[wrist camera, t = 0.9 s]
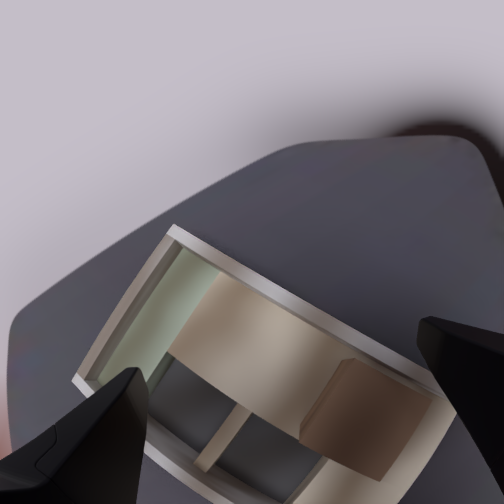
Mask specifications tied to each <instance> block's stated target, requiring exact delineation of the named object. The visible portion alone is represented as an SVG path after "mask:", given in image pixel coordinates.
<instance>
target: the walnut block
mask: <svg viewBox="0 0 504 504" xmlns="http://www.w3.org/2000/svg"><path fill="white" fill-rule="evenodd" d="M431 402H432V399H430V398H428V397H426V396H424V395H422V394H420V393H418V392H416V391H415V390H413V389H411V388H409V387H407V386H405V385H403V384H401V383H400V382H398V381H396V380H394V379H392V378H390V377H389V376H387V375H385V374H383V373H381V372H379V371H378V370H376V369H374V368H372V367H370V366H368V365H367V364H365V363H363V362H361V361H360V360H358V359H356V358H351V359H345V360H342V361H341V362H340V364H339V366H338V367H337V369H336V371H335V372H334V374H333V376H332V377H331V379H330V380H329V382H328V383H327V385H326V387H325V388H324V390H323V391H322V393H321V394H320V396H319V397H318V399H317V400H316V402H315V403H314V405H313V406H312V408H311V409H310V411H309V412H308V414H307V415H306V416H305V418H304V419H303V421H302V422H301V424H300V430H299V443H301V444H302V445H304V446H306V447H308V448H310V449H312V450H313V451H315V452H317V453H319V454H321V455H323V456H325V457H327V458H329V459H331V460H333V461H335V462H337V463H339V464H341V465H343V466H345V467H347V468H349V469H351V470H353V471H356V472H358V473H360V474H362V475H364V476H367V477H369V478H371V479H373V480H376V481H378V482H380V481H381V480H382V479H383V477H384V476H385V475H386V473H387V472H388V470H389V469H390V468H391V466H392V465H393V463H394V462H395V461H396V459H397V458H398V456H399V455H400V453H401V452H402V450H403V449H404V447H405V446H406V444H407V443H408V441H409V440H410V438H411V436H412V435H413V433H414V432H415V430H416V428H417V427H418V425H419V423H420V422H421V420H422V418H423V417H424V415H425V413H426V411H427V410H428V408H429V406H430V404H431Z"/></svg>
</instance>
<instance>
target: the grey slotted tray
mask: <svg viewBox="0 0 504 504" xmlns="http://www.w3.org/2000/svg"><path fill="white" fill-rule="evenodd" d="M351 358H356V359H358V360H360V361H361V362H363V363H365V364H367V365H368V366H370V367H372V368H374V369H376V370H378V371H379V372H381V373H383V374H385V375H387V376H389V377H390V378H392V379H394V380H396V381H398V382H400V383H401V384H403V385H405V386H407V387H409V388H411V389H413V390H415V391H416V392H418V393H420V394H422V395H424V396H426V397H428V398H430V399H432V402H431V404H430V406H429V408H428V410H427V411H426V413H425V415H424V417H423V418H422V420H421V422H420V423H419V425H418V427H417V428H416V430H415V432H414V433H413V435H412V436H411V438H410V440H409V441H408V443H407V444H406V446H405V447H404V449H403V450H402V452H401V453H400V455H399V456H398V458H397V459H396V461H395V462H394V463H393V465H392V466H391V468H390V469H389V470H388V472H387V473H386V475H385V476H384V477H383V479H382V480H381V481H380V482H378V481H376V480H373V479H371V478H369V477H367V476H364V475H362V474H360V473H358V472H356V471H353V470H351V469H349V468H347V467H345V466H343V465H341V464H339V463H337V462H335V461H333V460H331V459H329V458H327V457H325V456H323V455H321V454H319V453H317V452H315V451H313V450H312V449H310V448H308V447H306V446H304V445H302V444H301V443H299V430H300V424H301V422H302V421H303V419H304V418H305V416H306V415H307V414H308V412H309V411H310V409H311V408H312V406H313V405H314V403H315V402H316V400H317V399H318V397H319V396H320V394H321V393H322V391H323V390H324V388H325V387H326V385H327V383H328V382H329V380H330V379H331V377H332V376H333V374H334V372H335V371H336V369H337V367H338V366H339V364H340V362H341V361H342V360H345V359H351ZM127 367H139V368H140V369H141V371H142V373H143V376H144V379H145V381H146V384H147V387H148V391H149V398H148V415H147V433H146V440H145V446H144V453H145V454H147V455H148V456H149V457H150V458H151V459H153V460H154V461H155V462H156V463H158V464H159V465H160V466H161V467H163V468H164V469H165V470H166V471H168V472H169V473H170V474H172V475H173V476H174V477H176V478H177V479H178V480H180V481H181V482H183V483H184V484H185V485H187V486H188V487H190V488H191V489H192V490H194V491H195V492H197V493H198V494H200V495H201V496H203V497H204V498H206V499H207V500H209V501H211V502H212V503H214V504H397V503H398V502H399V501H400V500H401V498H402V497H403V496H404V494H405V493H406V492H407V491H408V489H409V488H410V487H411V485H412V484H413V482H414V481H415V480H416V478H417V477H418V476H419V474H420V473H421V471H422V470H423V468H424V467H425V465H426V464H427V462H428V461H429V459H430V458H431V456H432V455H433V453H434V452H435V450H436V448H437V447H438V445H439V444H440V442H441V440H442V439H443V437H444V435H445V433H446V432H447V430H448V428H449V426H450V425H451V423H452V421H453V419H454V417H455V416H456V414H457V412H456V411H455V409H454V408H453V406H452V405H451V403H450V401H449V400H448V398H447V397H446V395H445V394H444V392H443V391H442V389H441V388H440V386H439V385H438V383H437V381H436V380H435V378H434V376H433V374H432V373H431V372H430V371H428V370H427V369H425V368H423V367H421V366H419V365H417V364H416V363H414V362H412V361H410V360H408V359H407V358H405V357H403V356H401V355H399V354H398V353H396V352H394V351H392V350H390V349H389V348H387V347H385V346H383V345H382V344H380V343H378V342H376V341H374V340H373V339H371V338H369V337H367V336H365V335H364V334H362V333H360V332H358V331H357V330H355V329H353V328H351V327H350V326H348V325H346V324H344V323H343V322H341V321H339V320H337V319H335V318H334V317H332V316H330V315H328V314H327V313H325V312H323V311H321V310H320V309H318V308H316V307H315V306H313V305H311V304H309V303H308V302H306V301H304V300H302V299H301V298H299V297H297V296H295V295H294V294H292V293H290V292H288V291H287V290H285V289H283V288H282V287H280V286H278V285H276V284H275V283H273V282H271V281H270V280H268V279H266V278H264V277H263V276H261V275H259V274H258V273H256V272H254V271H252V270H251V269H249V268H247V267H246V266H244V265H242V264H240V263H239V262H237V261H235V260H234V259H232V258H230V257H229V256H227V255H225V254H223V253H222V252H220V251H218V250H217V249H215V248H213V247H212V246H210V245H208V244H207V243H205V242H203V241H202V240H200V239H198V238H197V237H195V236H193V235H192V234H190V233H188V232H186V231H185V230H183V229H181V228H180V227H178V226H176V225H175V224H173V225H172V227H171V228H170V229H169V231H168V232H167V233H166V235H165V236H164V238H163V239H162V240H161V242H160V243H159V245H158V246H157V247H156V249H155V250H154V252H153V253H152V255H151V256H150V257H149V259H148V260H147V262H146V263H145V265H144V266H143V268H142V269H141V270H140V272H139V273H138V275H137V276H136V278H135V279H134V281H133V282H132V284H131V285H130V287H129V288H128V290H127V291H126V293H125V294H124V296H123V297H122V299H121V300H120V302H119V304H118V305H117V307H116V308H115V310H114V311H113V313H112V314H111V316H110V318H109V319H108V321H107V322H106V324H105V326H104V327H103V329H102V330H101V332H100V334H99V335H98V337H97V339H96V340H95V342H94V344H93V345H92V347H91V349H90V350H89V352H88V354H87V355H86V357H85V359H84V360H83V362H82V364H81V366H80V367H79V369H78V371H77V373H76V374H75V376H74V378H73V380H72V382H73V383H74V384H75V385H76V386H77V387H78V389H79V390H80V391H81V392H82V393H83V394H84V395H85V396H86V397H87V398H88V397H90V396H91V395H92V394H94V393H95V392H96V391H97V390H99V389H100V388H101V387H102V386H104V385H105V384H106V383H108V382H109V381H110V380H111V379H113V378H114V377H115V376H116V375H118V374H119V373H120V372H122V371H123V370H124V369H125V368H127Z"/></svg>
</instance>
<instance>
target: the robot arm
mask: <svg viewBox="0 0 504 504" xmlns="http://www.w3.org/2000/svg"><path fill="white" fill-rule="evenodd" d="M417 346H418V348H419V350H420V352H421V354H422V355H423V357H424V359H425V361H426V363H427V365H428V367H429V369H430V371H431V373H432V374H433V376H434V378H435V380H436V381H437V383H438V385H439V386H440V388H441V389H442V391H443V392H444V394H445V395H446V397H447V398H448V400H449V401H450V403H451V405H452V406H453V408H454V409H455V411H456V412H457V414H458V416H459V417H460V419H461V420H462V422H463V424H464V425H465V427H466V429H467V430H468V432H469V434H470V435H471V437H472V439H473V440H474V442H475V444H476V445H477V447H478V449H479V450H480V452H481V454H482V456H483V457H484V459H485V461H486V463H487V465H488V466H489V468H490V470H491V472H492V474H493V476H494V478H495V480H496V481H497V483H498V485H499V487H500V489H501V491H502V493H503V495H504V334H501V333H497V332H493V331H489V330H485V329H480V328H476V327H472V326H468V325H464V324H460V323H456V322H453V321H449V320H445V319H441V318H437V317H433V316H429V317H426V318H422V319H421V320H420V322H419V327H418V334H417ZM148 398H149V391H148V387H147V384H146V381H145V379H144V376H143V373H142V371H141V369H140V368H139V367H127V368H125V369H124V370H123V371H122V372H120V373H119V374H118V375H116V376H115V377H114V378H113V379H111V380H110V381H109V382H108V383H106V384H105V385H104V386H102V387H101V388H100V389H99V390H97V391H96V392H95V393H94V394H92V395H91V396H90V397H88V398H87V399H86V400H85V401H83V402H82V403H81V404H79V405H78V406H77V407H76V408H74V409H73V410H72V411H70V412H69V413H68V414H66V415H65V416H64V417H63V418H61V419H60V420H59V421H57V422H56V423H55V425H52V426H51V427H50V428H48V429H47V430H46V431H44V432H43V433H42V434H40V435H39V436H37V437H36V438H35V439H33V440H32V441H30V442H29V443H27V444H26V445H24V446H22V447H21V448H19V449H18V450H16V451H14V452H13V453H11V454H10V455H8V456H6V457H5V458H3V459H1V460H0V504H136V500H137V492H138V485H139V478H140V471H141V465H142V458H143V452H144V446H145V440H146V433H147V415H148Z"/></svg>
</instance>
